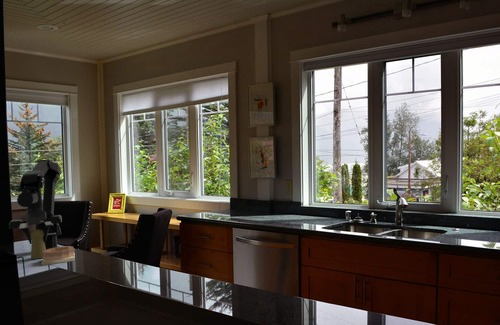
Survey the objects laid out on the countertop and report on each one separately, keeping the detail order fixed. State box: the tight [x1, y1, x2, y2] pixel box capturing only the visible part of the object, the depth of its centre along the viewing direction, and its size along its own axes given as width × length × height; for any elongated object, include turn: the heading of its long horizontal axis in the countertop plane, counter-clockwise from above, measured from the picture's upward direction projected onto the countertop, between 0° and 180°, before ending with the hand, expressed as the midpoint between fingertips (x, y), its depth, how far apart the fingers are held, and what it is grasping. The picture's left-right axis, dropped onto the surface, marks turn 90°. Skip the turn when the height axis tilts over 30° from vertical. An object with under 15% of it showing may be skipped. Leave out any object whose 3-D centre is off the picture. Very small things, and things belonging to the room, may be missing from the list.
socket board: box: [41, 245, 76, 266], centre depth 164 cm, size 11×11×4 cm
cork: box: [30, 228, 46, 260], centre depth 172 cm, size 6×6×11 cm
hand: (37, 243), depth 172 cm, fingers closed on cork, 5 cm apart
